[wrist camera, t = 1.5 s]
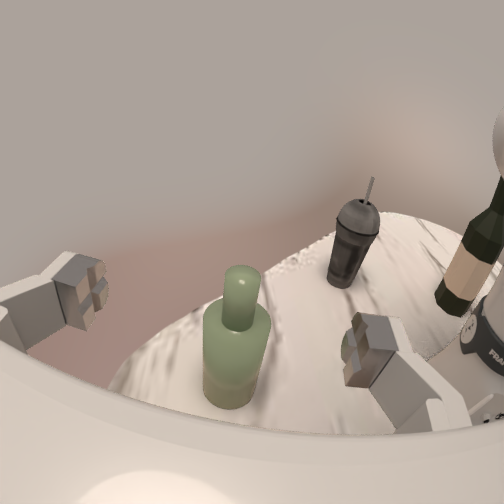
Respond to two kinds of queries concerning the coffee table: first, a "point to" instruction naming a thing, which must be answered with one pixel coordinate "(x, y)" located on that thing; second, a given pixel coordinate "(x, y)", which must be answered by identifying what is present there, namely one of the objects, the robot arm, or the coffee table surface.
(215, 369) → the olive glass bottle
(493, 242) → the wine bottle
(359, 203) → the beverage cup
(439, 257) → the coffee table surface
